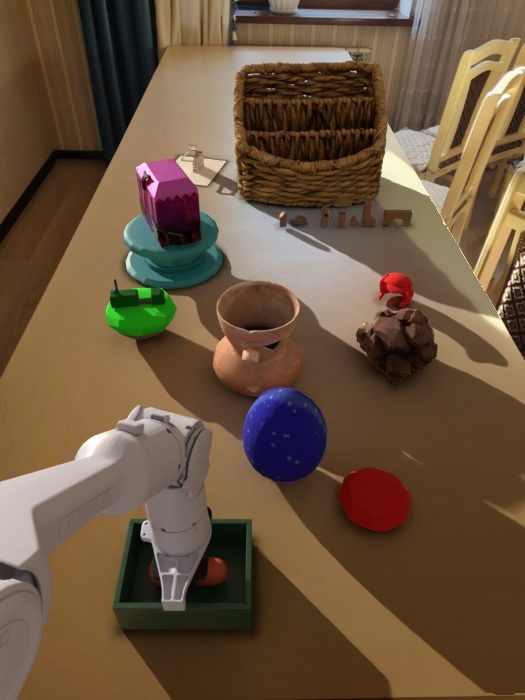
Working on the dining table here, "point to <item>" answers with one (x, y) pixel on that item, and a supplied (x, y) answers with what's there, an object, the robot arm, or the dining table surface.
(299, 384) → the dining table surface
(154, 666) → the dining table surface
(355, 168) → the basket
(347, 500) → the gemstone
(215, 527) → the bin
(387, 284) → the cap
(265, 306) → the ceramic jug
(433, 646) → the dining table surface
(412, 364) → the mineral specimen
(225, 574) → the red capsule pill
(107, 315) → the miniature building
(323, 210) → the wooden blocks
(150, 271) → the decorative object
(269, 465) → the ornament
